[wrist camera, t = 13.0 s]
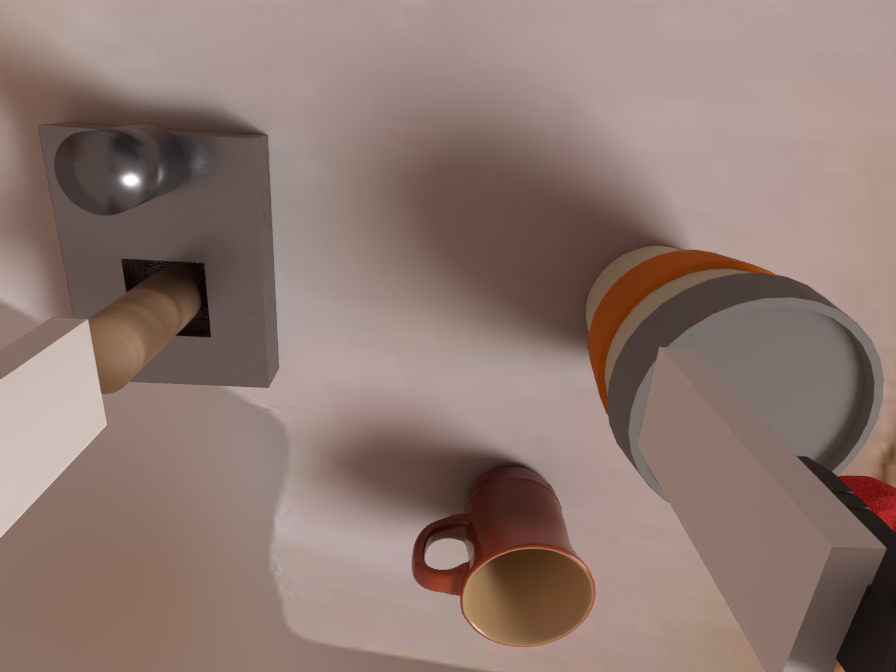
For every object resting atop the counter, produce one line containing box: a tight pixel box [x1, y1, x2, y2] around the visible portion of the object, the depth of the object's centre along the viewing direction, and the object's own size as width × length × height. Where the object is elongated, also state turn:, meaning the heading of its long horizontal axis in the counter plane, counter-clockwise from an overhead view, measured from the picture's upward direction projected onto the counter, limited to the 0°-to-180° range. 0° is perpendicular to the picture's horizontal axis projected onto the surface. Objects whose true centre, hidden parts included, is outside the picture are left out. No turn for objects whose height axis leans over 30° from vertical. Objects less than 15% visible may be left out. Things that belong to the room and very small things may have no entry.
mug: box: [412, 467, 595, 647], centre depth 44 cm, size 12×9×10 cm
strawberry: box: [839, 476, 896, 533], centre depth 44 cm, size 6×8×10 cm
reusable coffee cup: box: [585, 246, 884, 503], centre depth 35 cm, size 13×13×15 cm
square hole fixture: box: [38, 122, 279, 388], centre depth 36 cm, size 16×12×9 cm
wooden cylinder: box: [88, 261, 208, 394], centre depth 35 cm, size 4×4×12 cm
